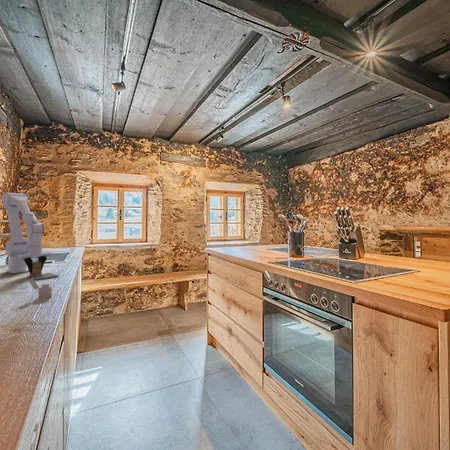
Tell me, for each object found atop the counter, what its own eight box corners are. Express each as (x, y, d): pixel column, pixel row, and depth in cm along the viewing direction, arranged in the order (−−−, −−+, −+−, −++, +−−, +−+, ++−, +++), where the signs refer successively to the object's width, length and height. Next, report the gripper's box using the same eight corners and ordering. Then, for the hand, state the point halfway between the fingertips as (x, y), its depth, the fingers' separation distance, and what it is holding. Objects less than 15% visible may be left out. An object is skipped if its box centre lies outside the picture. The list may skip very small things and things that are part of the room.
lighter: (51, 296, 104) (51, 276, 103) (51, 297, 102) (51, 277, 102) (29, 299, 100) (29, 278, 100) (28, 300, 98) (28, 279, 98)
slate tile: (27, 277, 132) (27, 276, 132) (49, 274, 141) (49, 272, 141) (35, 280, 127) (35, 279, 127) (57, 277, 135) (57, 275, 135)
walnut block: (29, 275, 138) (29, 262, 138) (38, 274, 141) (38, 261, 141) (32, 276, 136) (32, 263, 135) (41, 275, 139) (41, 262, 139)
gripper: (21, 247, 130) (22, 274, 130) (53, 245, 142) (54, 270, 142) (16, 246, 134) (16, 273, 134) (47, 244, 146) (48, 268, 146)
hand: (35, 271), depth 138 cm, fingers closed on walnut block, 4 cm apart
